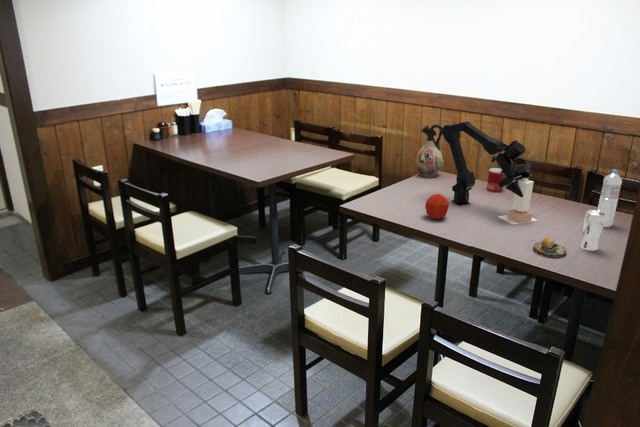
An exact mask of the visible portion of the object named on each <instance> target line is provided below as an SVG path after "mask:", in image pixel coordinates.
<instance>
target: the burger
mask: <svg viewBox="0 0 640 427" xmlns="http://www.w3.org/2000/svg"><path fill="white" fill-rule="evenodd" d="M532 250H533V253H536V255H538V254H541V255H543V256H542V257H544V258H549V259H561V258H564V257H565V256H566V254H567V249H566V248H565V247H564V246H562V245H560V244H559V243H556V242H555V240H554V239H553V238H552V237H545V238H543V239H542V241H538V242H535V243H534V244H533V247H532ZM541 255H540V256H541ZM560 257H561V258H560Z"/></svg>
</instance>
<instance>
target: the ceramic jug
mask: <svg viewBox="0 0 640 427" xmlns="http://www.w3.org/2000/svg"><path fill="white" fill-rule="evenodd" d="M435 128H437V129H439V134H438V133H437V132H436V130H435ZM442 128H443V126H442V124H439V123H433V124H432V125H431V126H429V125H425V126H424V127H423V128H421V129H420V131H419V132H421V133H423V134H425V135H426V136H427V138H426V141H425V142H424V143H423V144H422V146H421V147H420V148H419V150H418V152H417V154H416V157H415V159H414V160H415V162H414V163H415V168H416V170H417V171H418V173H419V175H420V176H421V177H425V178H434V177H436V176H438V173H439V172H440V171H441V170H442V169H443V164H444V158H443V157H444V156H443V154H442V151H441V147H440V141H441V139H442V136H443V134H442ZM437 135H438V136H437ZM435 136H437V138H436V140H435Z"/></svg>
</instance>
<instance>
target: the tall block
mask: <svg viewBox="0 0 640 427" xmlns="http://www.w3.org/2000/svg"><path fill="white" fill-rule="evenodd" d="M529 179H530V178H529ZM529 179H528V178H523V179H520V180H518V186H519V188H520V190H521V192H522V194H523V197H520V196H518V195H516V194H515V193H514V196H513V201H512V202H513V203H512V209H511V210H513V209H515V210H518V211H521V212H524V211H529V210H530V203H531V199H532V194H533V188H534V184H535V182H534V181H533V180H529Z"/></svg>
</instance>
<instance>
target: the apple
mask: <svg viewBox="0 0 640 427" xmlns="http://www.w3.org/2000/svg"><path fill="white" fill-rule="evenodd" d="M449 206H450V203H449V200H448V198H446V197H445V196H444V195H443V194H439V193H435V194H431V195H429V197H428V198H427V199H426V200H425V205H424V207H425V208H424V209H425V212H426V214H427V216H429V217H430V218H432V219H434V220H440V219H443V218H444V217H446V216H447V213H448V211H449V208H450V207H449Z"/></svg>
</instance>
